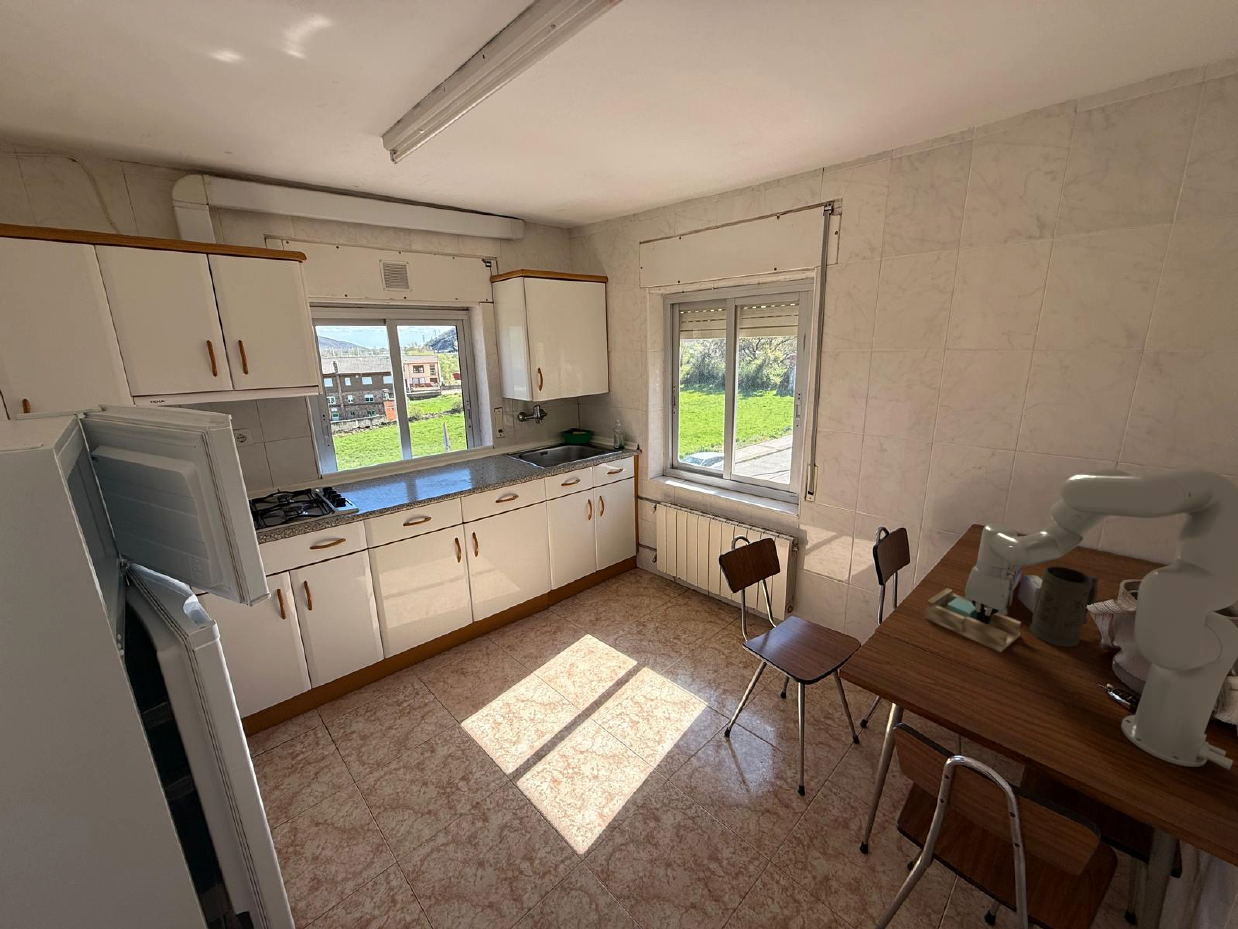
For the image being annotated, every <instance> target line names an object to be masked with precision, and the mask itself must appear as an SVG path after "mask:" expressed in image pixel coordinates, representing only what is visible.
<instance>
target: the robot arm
mask: <svg viewBox="0 0 1238 929" xmlns="http://www.w3.org/2000/svg"><path fill="white" fill-rule="evenodd" d="M1059 495H1060V497H1061V498H1060V499H1059V500H1057V501H1056V502H1055V503H1053V504H1052V505H1051V506H1050V508H1049V515H1050V517H1051V520H1052V522H1051V523H1050V524H1049V525H1048V526H1046V527H1045V528H1043V529H1042V530H1041V531H1039V532H1037V533H1032V534H1027V535H1023V536H1022V535H1021V536H1018V533H1017V531H1016V529H1014V528H1013V527H1012V526H1008V525H1006V524H1002V523H1001V524H1000V523H988V524H986V525H985V526H983V529H982V531H981V532H982V534H981V536H980V542H979V543H980V544H979V548H978V555H977V561H976V565H974V566H973V567H972V569H971V571H970V574H969V576H968V579H967V582H966V587H965V591H964V594H965V595H964V596H963V597H964V598H965V599H966V600H968V601H970V602H972V604H973V605H974V607H975V608H976V611H977V615H976V620H978V621H980V622H983V623H985V624H989V623H990V620H991V615H992V614H995V613H999V614H1002V615H1005V616H1007V615H1008V614H1009V613H1010V610H1009V607H1011V605H1012V603H1013V596H1014V595H1013V594H1014V590H1013V576H1012V575H1014V576H1015V575H1016V571H1014V570H1013V569H1012V566H1011V565H1013V566H1016V567H1022V568H1027V567H1031V566H1036V565H1040V564H1044V563H1049V562H1053V561H1055V560H1057V559H1060V558H1062V557H1064V556H1065V555H1067V554H1068V553H1069V552H1071V551H1072V550H1073V549H1075V548H1076V547H1078V546H1079V545H1080V544H1081V543H1083V541H1084V540H1085V538H1086V537H1087V535H1088V532H1089V531H1091V530H1092V529H1093V528H1095V527H1097V526H1098V525H1099V524H1100V523H1102V522H1103V521H1104V520H1106V519H1108V518H1109V517H1110V516H1116V517H1126V518H1127V517H1128V518H1137V519H1161V518H1167V517H1172V516H1176V515H1181V514H1185V518H1184V522H1183V523H1182V525H1181V527H1180V530H1179V532H1178V535H1177V538H1176V550H1175V555H1174V559H1173V562H1172V563H1171V564H1169V565H1166V566H1163V567H1159V568H1156V569H1153V570H1152V571H1149V573H1147V574H1146V575H1145V576H1144V577H1143V579H1142V580H1141V582H1140V584H1139V587H1138V591H1137V598H1136V608H1135V609H1136V610H1135V617H1134V618H1135V620H1134V625H1133V626H1134V628H1133V630H1134V631H1133V634H1134V635H1133V636H1134V642H1135V644H1136V647H1137V649H1138V651H1139V653H1140V654H1141V655H1142V656H1143V657H1144V658H1145V659H1146V660H1147V661H1149V662H1150V663H1151V665H1150V667H1149V670H1148V674H1147V678H1146V680H1145V684H1144V687H1143V689H1142V690H1143V691H1142V693H1141V696H1140V699H1139V702H1138V706H1137V709H1136V712H1135V714H1134V715H1133V714H1132V715H1127V716H1126V717H1124V718H1123V719H1122V721H1121V725H1120V727H1121V730H1122V732H1123V734H1124V735H1125V736H1126V738H1127V739H1128V740H1129V741H1130V742H1131V743H1133V744H1134V745H1136V746H1137V747H1138V748H1140V749H1141V750H1143V751H1144V752H1146V753H1148V754H1150V755H1152V756H1153V757H1156V758H1158V759H1161V760H1162V761H1166V762H1168V763H1171V764H1175V765H1178V766H1183V767H1192V768H1193V767H1194V768H1195V767H1196V768H1197V767H1201V766H1204V765H1205V764H1206V763H1207V761H1208V760H1209V761H1211V762H1213V763H1215V764H1216V765H1219V766H1221V767H1222V768H1225V769H1227V770H1231V767H1232V765H1233V762H1234V760H1232V759H1230V758H1228V757H1225V756H1226V753H1227V751H1225V750H1223V749H1221V748H1219V747H1215V746H1214V745H1211V744H1209V742H1208V741H1206V738H1207V735H1208V734H1205V731H1206V729H1207V726H1208V723H1209V720H1210V717H1211V715H1212V714H1213V713H1212V712H1213V710H1214V707H1215V704H1216V701H1217V699H1218V696H1219V694H1220V691H1221V690H1222V687H1223V684H1224V681H1225V679H1226V678H1227V675H1228V674H1229V672H1230V671H1231V669H1232V667H1233V666H1234V664H1235V662H1236V661H1237V659H1238V626H1236V624H1235V623H1233V621H1231V620H1230V619H1229V618H1227V617H1226V616H1224V615H1222V614H1219V613H1218V612H1216V611H1220V610H1223V609H1225V608H1228V607H1230V606H1232V605H1234V604H1235V603H1236V602H1237V601H1238V486H1237V485H1236V484H1235V483H1234V482H1233V481H1231V480H1230V479H1228V478H1226V477H1225V476H1223V475H1221V474H1219V473H1216V472H1214V471H1211V470H1206V469H1201V468H1190V467H1188V468H1178V469H1177V468H1176V469H1170V470H1165V471H1161V472H1156V473H1150V474H1145V475H1144V474H1143V475H1131V473H1128V472H1126V471H1124V470H1120V469H1117V468H1116V469H1115V468H1104V469H1097V470H1092V471H1085V472H1080V473H1077V474H1073V475H1071V476H1070V477H1068V478H1067V479H1066V480H1064V482H1063V484H1062V485H1061V487H1060V494H1059ZM985 608H987V609H986V610H985Z"/></svg>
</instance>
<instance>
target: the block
mask: <svg viewBox="0 0 1238 929" xmlns="http://www.w3.org/2000/svg"><path fill="white" fill-rule="evenodd" d="M947 610H950V611H952V612H954V613H957V614H959V615H962V616H964V617H967V616H968V617H971V618H973V619H976V615H977V611H976V608H975V607H974V605H973V604H972V603H970V602H968V601H965V600H963V599H960V598H958V597H957V598H956V599H954V600H953V601H951V602H950V603H948V604H947Z"/></svg>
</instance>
